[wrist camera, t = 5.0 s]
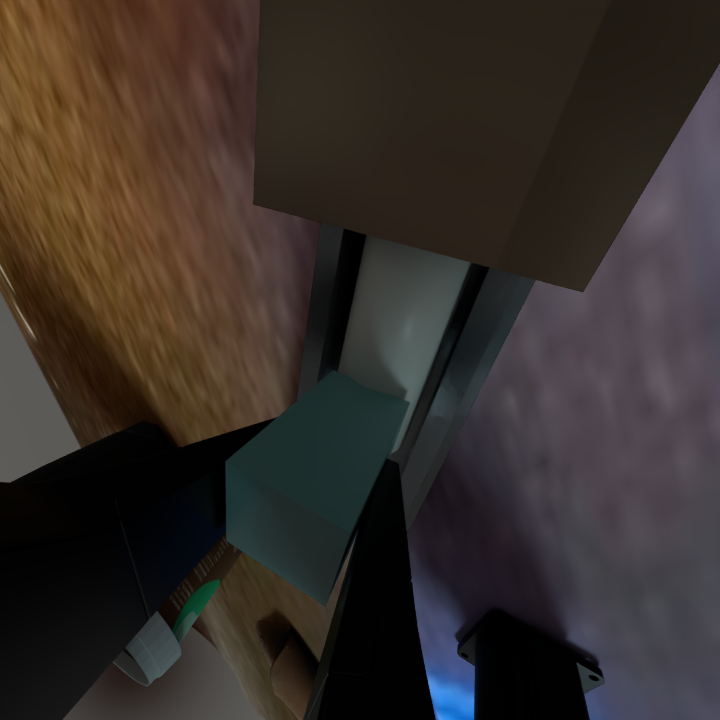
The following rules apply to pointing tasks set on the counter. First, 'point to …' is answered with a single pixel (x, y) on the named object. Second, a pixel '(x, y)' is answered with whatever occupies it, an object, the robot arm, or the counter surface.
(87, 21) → the counter surface
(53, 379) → the counter surface
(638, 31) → the socket block
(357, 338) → the teal angled piece
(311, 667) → the sunglasses case
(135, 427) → the portable speaker
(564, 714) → the robot arm
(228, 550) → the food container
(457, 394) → the sleeve channel
